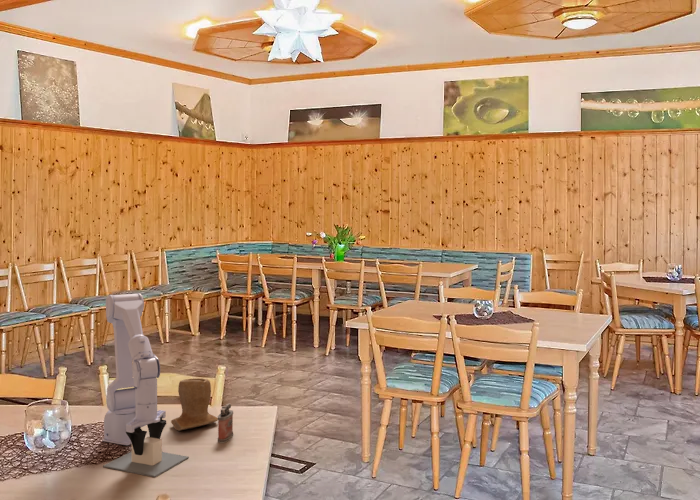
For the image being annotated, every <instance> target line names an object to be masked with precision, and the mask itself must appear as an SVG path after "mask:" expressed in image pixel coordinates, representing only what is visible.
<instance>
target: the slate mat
mask: <svg viewBox="0 0 700 500" xmlns="http://www.w3.org/2000/svg"><path fill="white" fill-rule="evenodd" d="M189 458H190V457H189V456H187V455H183V454H182V455H181V454H176V453H170V452H165V451H162V461H160V462H158V463H157V464H155V465H147V464H142V463H136V462H132V451H130V452H127V453H126V454H123V455H122V456H120V457H118V458H115V459H113V460H112V461H109V462H108V463H105V464H104V465H103V468H106V469H110V470H116V471H121V472H127V473H131V474H137V475H141V476H148V477H152V478H156V477H158V476H160V475H162V474H164V473H165V472H167V471H168V470H169V471H170V470H171V469H172V468H174V467H176V466H177V465H179V464H181V463H182V462H185V461H186V460H188V459H189Z"/></svg>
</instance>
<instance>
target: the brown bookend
mask: <svg viewBox="0 0 700 500" xmlns="http://www.w3.org/2000/svg"><path fill="white" fill-rule="evenodd" d="M177 391H178V396H179V400H180V405H181V414H180V415H179V416H178V417H176V418H173V419H171V421H170V423H171V424H172V426H173V428H174V429H175V430H176V431H179V432H180V431H185V430H190V429H194V428H198V427H202V426H205V425H209V424H213V423H216V422H218V416H214V415H213V414H211V413H210V412H209V411H208V410H209V403H210V401H211V395H212V385H211V381H210V380H209V379H208V378H204V377H201V378H200V377H199V378H197V377H195V378H194V377H193V378H187V379H181V380H179V382H178V388H177Z"/></svg>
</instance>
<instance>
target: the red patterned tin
mask: <svg viewBox="0 0 700 500" xmlns="http://www.w3.org/2000/svg"><path fill="white" fill-rule="evenodd" d="M231 408H232V404H231V403H227V404H225V405H222V406H221V409H220V413H219V414H218V415H217V418H218V421H217V422H218V423H217V425H218V426H217V431H218V432H217V433H218V434H217V442H218V443H227V442H228V441H230V440H231V439H232V438H233V437H234V431H233V422H234V419H233V418H234V417H233V415H234V410H231Z"/></svg>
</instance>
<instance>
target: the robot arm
mask: <svg viewBox="0 0 700 500" xmlns="http://www.w3.org/2000/svg"><path fill="white" fill-rule="evenodd" d="M144 308H145V300H144V297H143V294H141V293H140V292H136V293H126V294H125V293H124V294H108V295H107V297H106V299H105V317H106V322H107V323H110V324H111V325H112V327H113V328H112V329H113V340H114V343H113V344H114V355H115V356H114V358H115V374H116V375H115V379H114V380H112V382H110V383H109V384H108V386H107V388H106V407H107V410H108V411H106V413H105V415H104V417H103V418H104V419H103V438H102V440H101V441H102V442H106V443H112V444H117V445H123V446H131V447H132V446H133V449H134V453H135V455H142V454H143V447H144V439H145V437H147V436H146V435H147V433H148V434H149V436H148V437H151V438H157V439H161V436H162V433H163V431H164V429H165V427H166V425H167V420H166V419H165V418H166V410H162V409H158V379H159V378H160V376H161V364H160V359H159V358H158V357H157V355H156V353H154V352H153V349H152V345H151V342H150V339H149V337H148V336H146V335H144V331H143V326H142V321H141V317H142V315H143V312H144ZM145 426H147V429H148V431H146V430H143V427H145ZM131 443H132V444H131Z"/></svg>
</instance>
